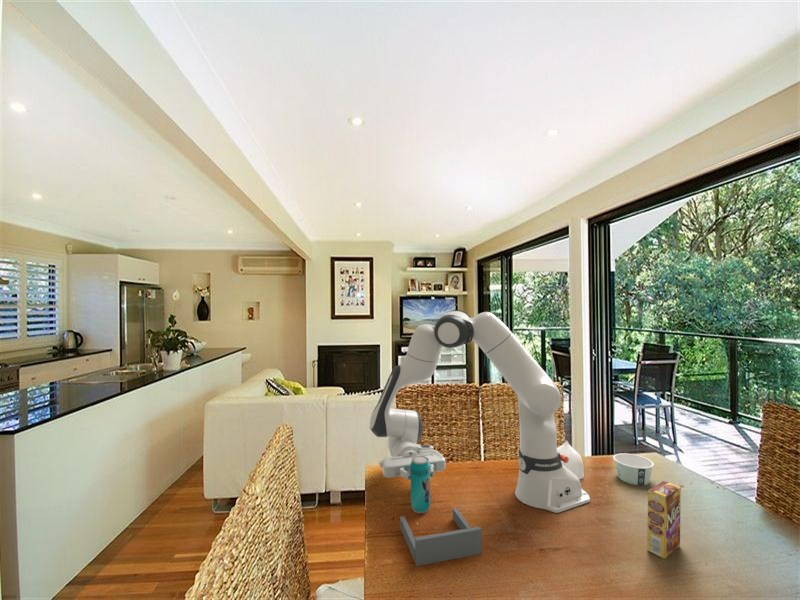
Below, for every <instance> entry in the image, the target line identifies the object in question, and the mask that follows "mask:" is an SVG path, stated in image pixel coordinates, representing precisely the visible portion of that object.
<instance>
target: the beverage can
mask: <svg viewBox="0 0 800 600" xmlns="http://www.w3.org/2000/svg"><path fill="white" fill-rule="evenodd" d="M410 504H411V508H412V511H413V512H414V513H416V514H420V513H422V514H426V513H427V512H428V511H429V509H430V506H431V477H430V464H429V459H428V458H427V457H424V456H416V457H413V458H412V462H411V479H410ZM425 512H426V513H425Z"/></svg>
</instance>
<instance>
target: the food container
mask: <svg viewBox="0 0 800 600" xmlns="http://www.w3.org/2000/svg"><path fill="white" fill-rule="evenodd" d="M612 458H613V460H614V462H615V468H616V472H617V478H619V480H621V481H622V482H625V483H627V484H630V485H635V486H647V485H649V484H650V480H651V476H652V475H651V474H652V471H653V467H654V466H655V465H654V462H653V461H652V460H650V459H649V458H647V457H644V456H642V455H637V454H632V453H616V454H615V455H613V457H612Z"/></svg>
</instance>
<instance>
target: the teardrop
mask: <svg viewBox="0 0 800 600" xmlns="http://www.w3.org/2000/svg"><path fill="white" fill-rule="evenodd" d="M557 452H558V453H560V455H565V456H567V457H568V458H569V461H568V463H564V462H563V461H561V462H562V465H564V466H565V467H566V468H567V469H569V470H570V471H571V472H572V473H574V474H575V475H576V476H577V477H578V479H579V480H583V478H584V477H585V471H584V463H583V458H582V457H581V455H580V454H579V453H578V451H577V450H575V449H574V447H572V445H570V443H569V441H568V440H565V442H564V443H563V444H562V445H560V446H557Z"/></svg>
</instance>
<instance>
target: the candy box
mask: <svg viewBox="0 0 800 600" xmlns="http://www.w3.org/2000/svg"><path fill="white" fill-rule="evenodd" d="M647 491H648V492H647V530H646V531H647V533H646V534H647V538H646V539H647V542H646V550H647V552H650V553H651V554H654V555H656V556H657V557H659V558H661V559H663V560H665V559H667V557H669V556H670V555H671V554H672V553H673V552H675V551H676V550H677V549H678V548H679V547H681V500H682V499H681V495H682V494H681V493H682V487H681V486H680V485H677V484H674V483H672V482H668V481H665V480H663V481H661V482H660V483H658V484H656V485H654V486H653V487H652V488H649V489H648V490H647Z"/></svg>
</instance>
